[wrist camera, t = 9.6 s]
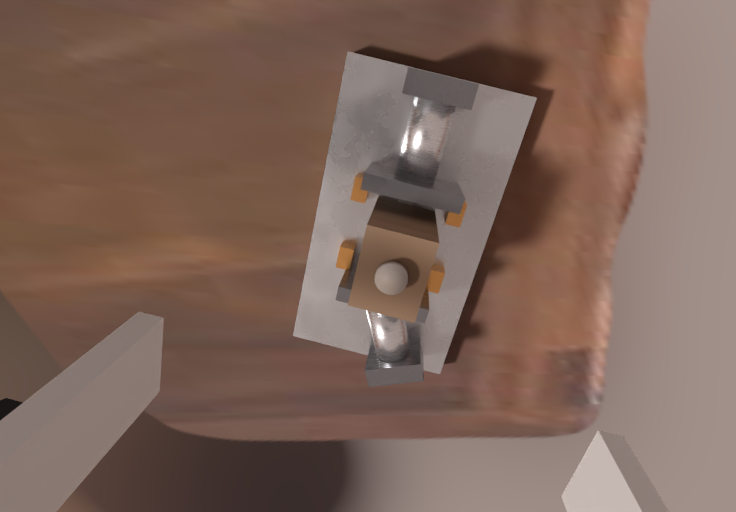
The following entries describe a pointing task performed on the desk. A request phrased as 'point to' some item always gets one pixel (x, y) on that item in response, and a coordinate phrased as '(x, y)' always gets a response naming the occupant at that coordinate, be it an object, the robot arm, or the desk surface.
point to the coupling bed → (408, 191)
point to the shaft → (392, 353)
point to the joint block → (395, 260)
